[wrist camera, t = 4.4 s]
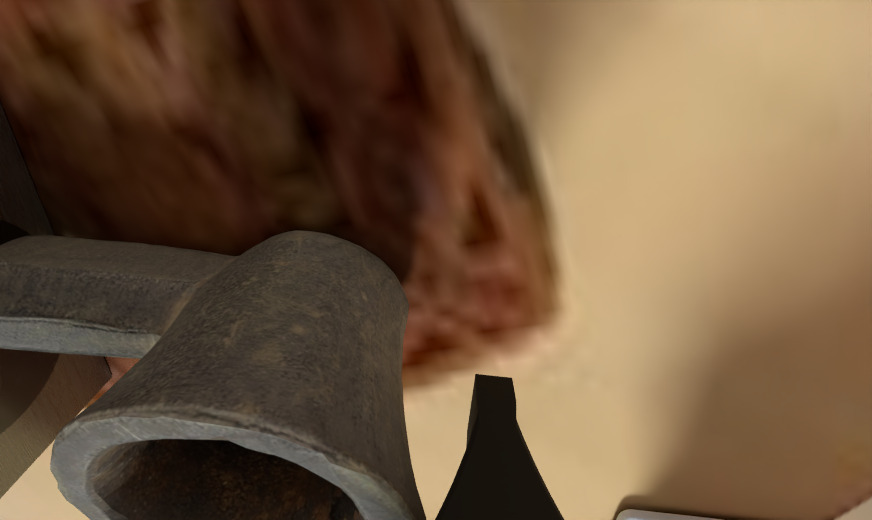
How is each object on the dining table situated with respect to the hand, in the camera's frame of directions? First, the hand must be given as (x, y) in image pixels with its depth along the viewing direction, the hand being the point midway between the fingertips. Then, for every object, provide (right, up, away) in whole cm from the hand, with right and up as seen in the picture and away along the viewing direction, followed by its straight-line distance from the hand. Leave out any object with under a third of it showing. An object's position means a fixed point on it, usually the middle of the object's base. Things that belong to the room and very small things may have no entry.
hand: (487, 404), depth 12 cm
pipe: (-7, +3, +4) cm, 9 cm away
